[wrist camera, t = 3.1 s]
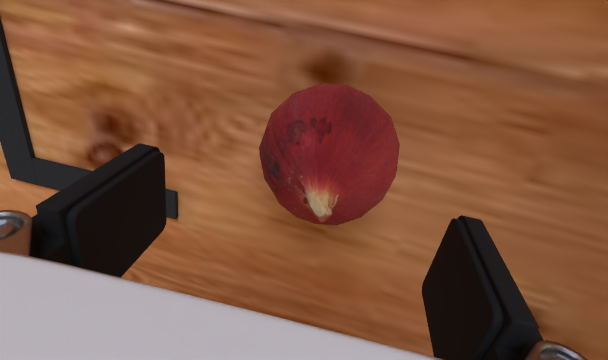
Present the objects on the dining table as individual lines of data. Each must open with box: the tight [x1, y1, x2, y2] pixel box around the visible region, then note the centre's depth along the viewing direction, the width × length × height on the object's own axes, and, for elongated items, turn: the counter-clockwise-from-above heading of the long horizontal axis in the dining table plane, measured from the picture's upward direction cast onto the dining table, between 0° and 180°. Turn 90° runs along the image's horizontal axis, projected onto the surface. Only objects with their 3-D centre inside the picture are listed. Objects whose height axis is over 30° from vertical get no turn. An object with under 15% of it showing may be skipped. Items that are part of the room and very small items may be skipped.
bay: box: [0, 21, 178, 219], centre depth 19 cm, size 17×12×1 cm
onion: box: [259, 84, 400, 225], centre depth 14 cm, size 6×6×8 cm
